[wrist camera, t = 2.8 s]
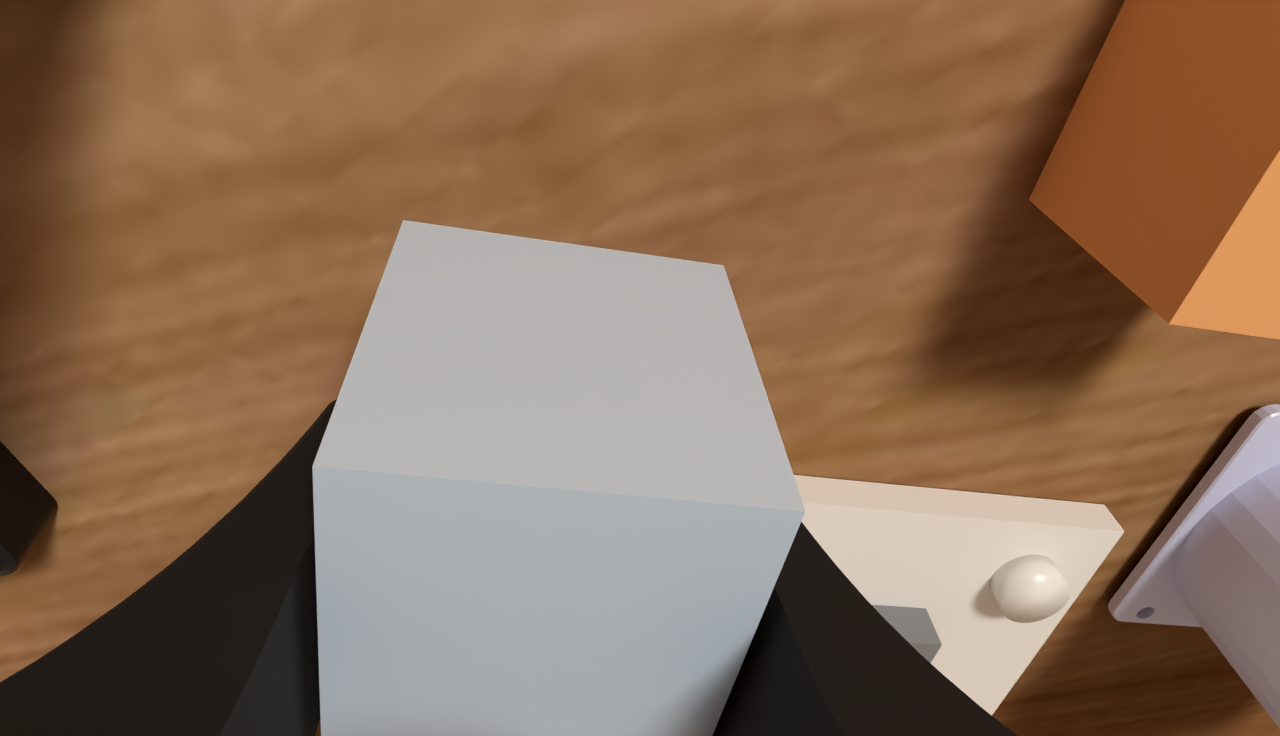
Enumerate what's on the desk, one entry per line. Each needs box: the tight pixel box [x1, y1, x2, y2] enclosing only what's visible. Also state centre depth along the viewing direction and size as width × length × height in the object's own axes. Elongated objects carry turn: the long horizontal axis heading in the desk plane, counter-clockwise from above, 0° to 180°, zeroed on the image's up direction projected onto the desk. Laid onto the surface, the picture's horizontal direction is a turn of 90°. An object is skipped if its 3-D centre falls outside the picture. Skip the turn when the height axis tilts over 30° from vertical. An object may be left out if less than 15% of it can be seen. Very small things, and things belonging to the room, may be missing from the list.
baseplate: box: [794, 475, 1124, 715], centre depth 25 cm, size 16×16×2 cm
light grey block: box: [312, 220, 805, 736], centre depth 11 cm, size 4×6×5 cm
